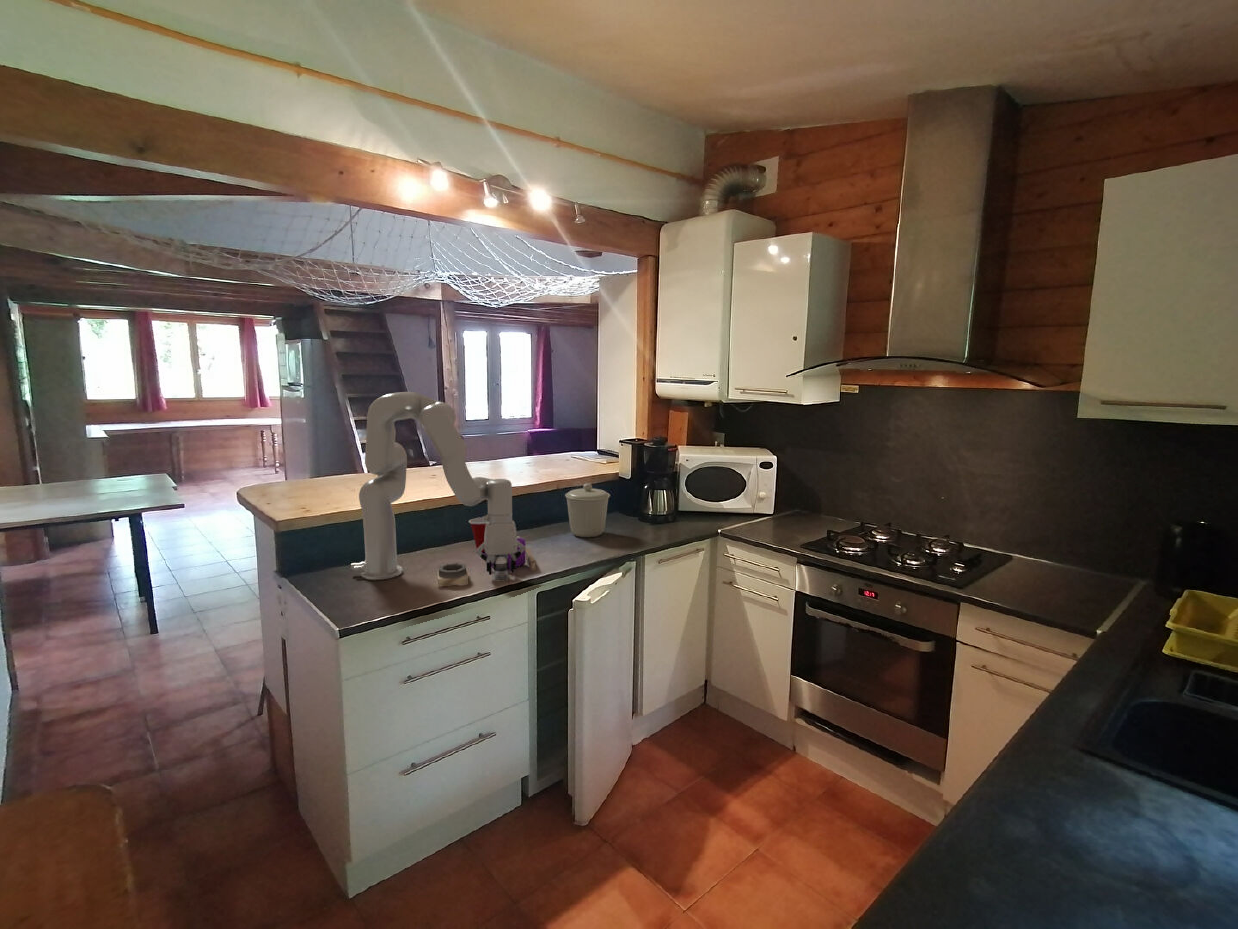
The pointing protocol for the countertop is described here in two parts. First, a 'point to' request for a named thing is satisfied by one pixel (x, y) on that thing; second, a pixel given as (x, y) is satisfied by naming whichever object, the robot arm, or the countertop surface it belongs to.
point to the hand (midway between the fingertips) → (501, 572)
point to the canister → (587, 511)
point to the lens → (501, 567)
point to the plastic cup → (478, 530)
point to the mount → (452, 574)
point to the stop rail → (530, 559)
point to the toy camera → (520, 559)
